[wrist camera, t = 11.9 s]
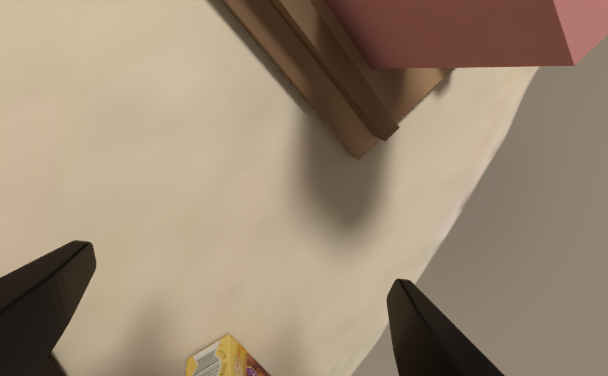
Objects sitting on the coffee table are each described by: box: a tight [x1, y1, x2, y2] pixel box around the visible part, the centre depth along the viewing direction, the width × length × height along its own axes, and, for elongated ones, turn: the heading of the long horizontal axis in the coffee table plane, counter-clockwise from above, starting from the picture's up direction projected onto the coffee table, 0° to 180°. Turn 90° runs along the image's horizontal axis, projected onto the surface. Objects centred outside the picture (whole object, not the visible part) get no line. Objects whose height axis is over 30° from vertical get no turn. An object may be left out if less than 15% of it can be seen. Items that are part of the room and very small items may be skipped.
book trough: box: [222, 0, 453, 160], centre depth 18 cm, size 12×14×2 cm
